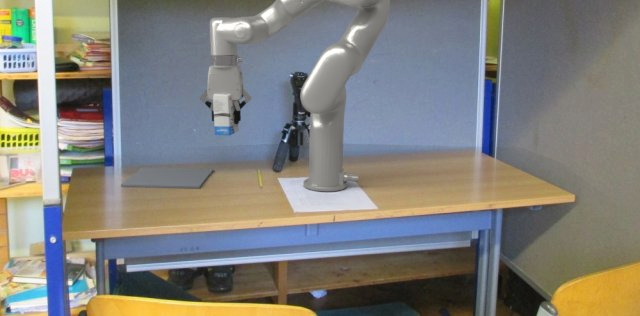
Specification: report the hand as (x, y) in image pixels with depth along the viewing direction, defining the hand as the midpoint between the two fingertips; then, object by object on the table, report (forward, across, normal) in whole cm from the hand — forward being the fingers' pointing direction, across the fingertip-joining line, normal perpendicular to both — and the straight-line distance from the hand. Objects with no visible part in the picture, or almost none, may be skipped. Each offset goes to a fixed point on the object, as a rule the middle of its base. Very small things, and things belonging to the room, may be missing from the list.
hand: (226, 122), depth 191 cm
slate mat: (+16, +17, +4) cm, 23 cm away
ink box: (+3, 0, 0) cm, 3 cm away
